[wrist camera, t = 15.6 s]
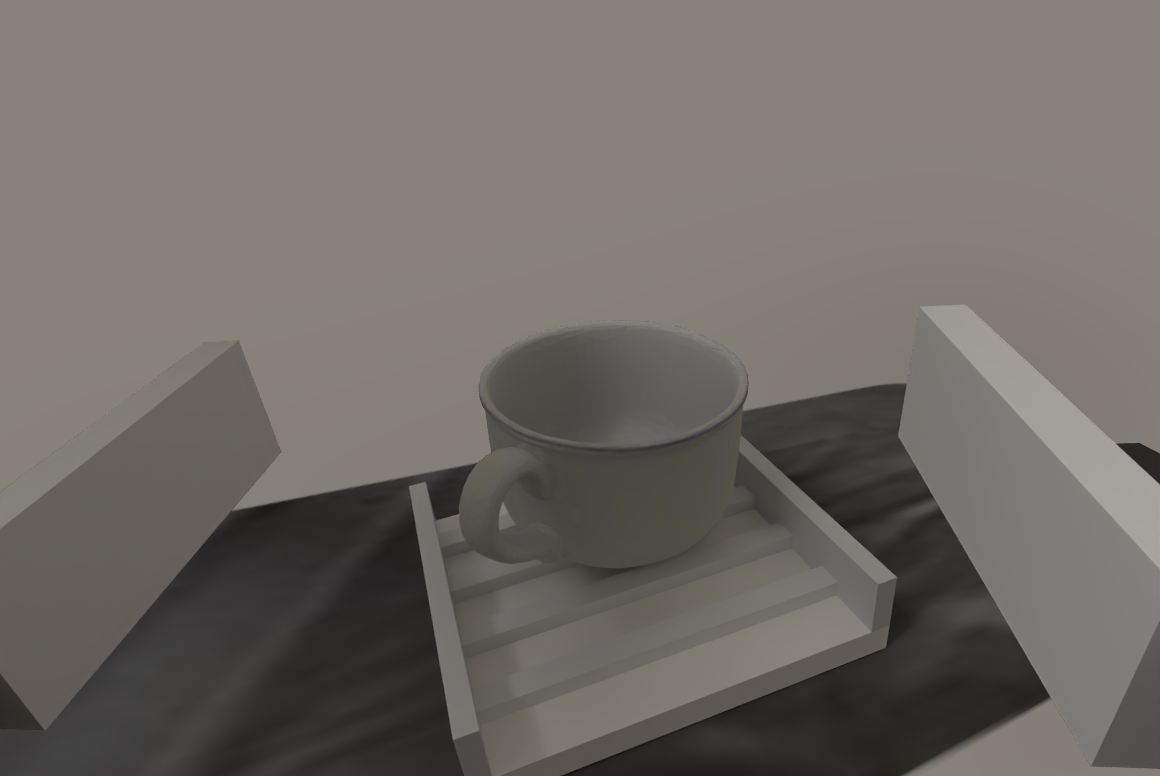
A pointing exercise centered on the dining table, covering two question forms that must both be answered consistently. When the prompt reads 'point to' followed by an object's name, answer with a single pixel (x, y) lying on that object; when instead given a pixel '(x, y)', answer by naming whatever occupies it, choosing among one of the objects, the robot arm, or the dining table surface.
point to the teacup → (605, 444)
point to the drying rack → (643, 628)
